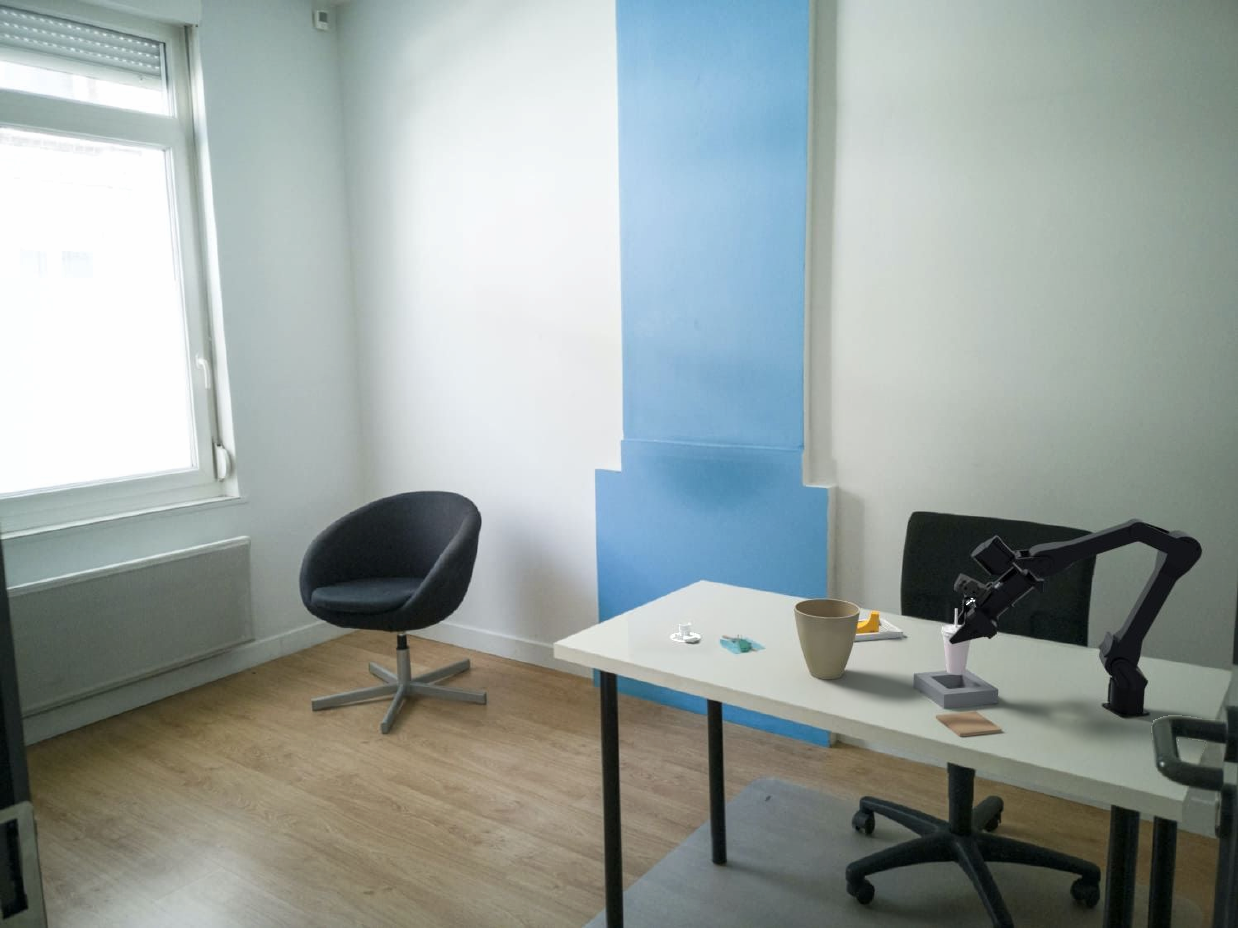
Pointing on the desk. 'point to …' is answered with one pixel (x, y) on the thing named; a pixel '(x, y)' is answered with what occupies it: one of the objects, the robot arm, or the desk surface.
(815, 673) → the plant pot
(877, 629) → the pipe clamp
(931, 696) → the dock
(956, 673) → the smoothie
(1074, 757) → the desk surface
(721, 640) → the desk surface
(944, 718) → the pad
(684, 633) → the teacup and saucer
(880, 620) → the tray
